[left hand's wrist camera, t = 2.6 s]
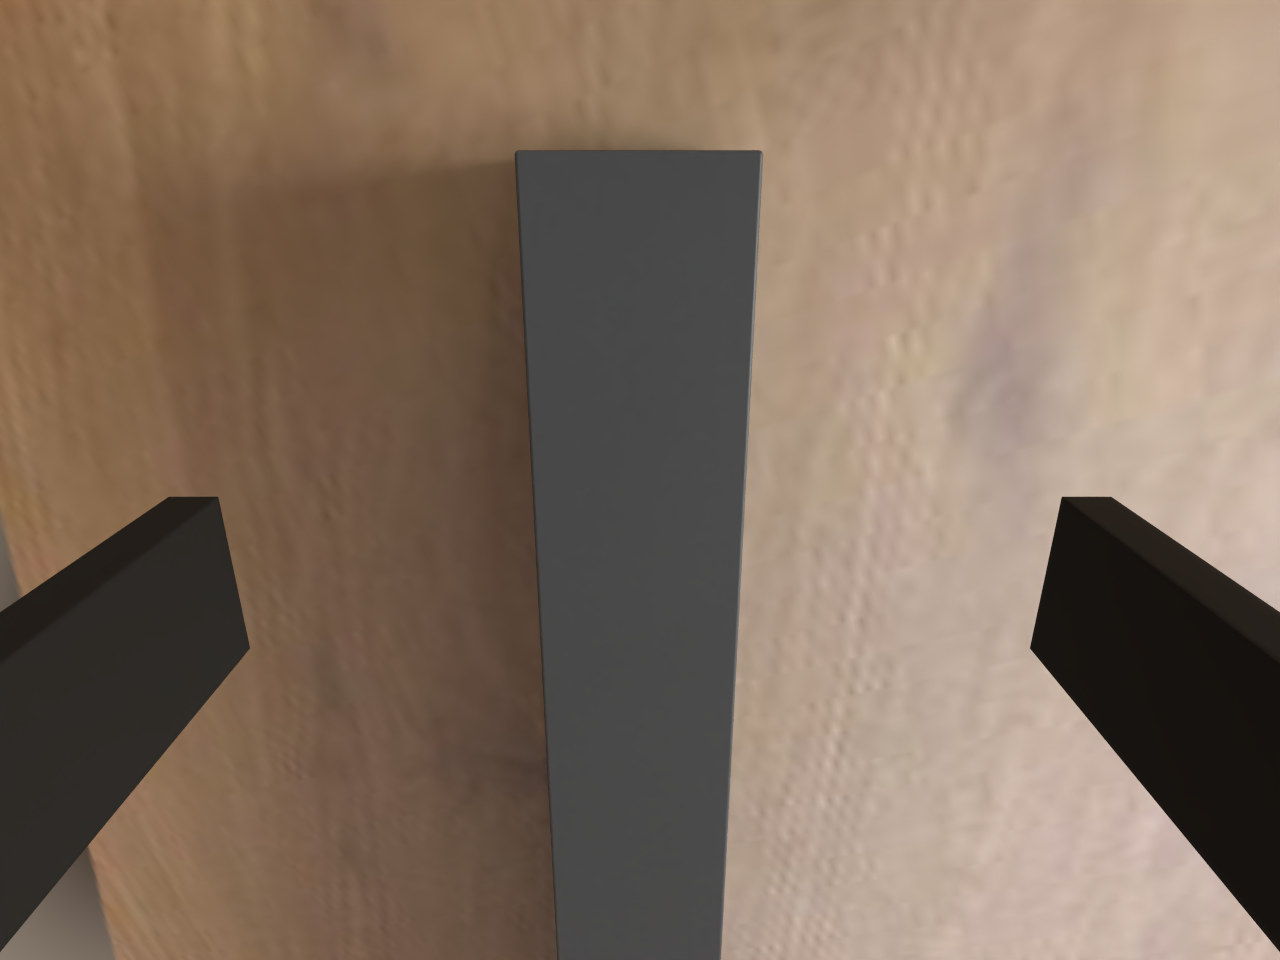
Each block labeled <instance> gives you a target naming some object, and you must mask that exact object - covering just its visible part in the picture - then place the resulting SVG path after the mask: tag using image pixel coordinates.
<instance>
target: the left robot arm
mask: <svg viewBox="0 0 1280 960" xmlns="http://www.w3.org/2000/svg"><path fill="white" fill-rule="evenodd" d="M249 649H250V646H249V642H248V637H247V632H246V627H245V623H244V618H243V613H242V608H241V604H240V599H239V594H238V589H237V584H236V580H235V575H234V570H233V565H232V561H231V556H230V551H229V546H228V542H227V537H226V532H225V527H224V523H223V518H222V513H221V508H220V504H219V499H218V497H168V498H166V499H165V500H164V501H162V502H161V503H159V504H158V505H156V506H155V507H153V508H152V509H150V510H149V511H147V512H146V513H145V514H143V515H142V516H140V517H139V518H137V519H136V520H134V521H133V522H131V523H130V524H129V525H127V526H126V527H124V528H123V529H121V530H120V531H118V532H117V533H115V534H114V535H112V536H111V537H110V538H108V539H107V540H105V541H104V542H102V543H101V544H99V545H98V546H96V547H95V548H93V549H92V550H91V551H89V552H88V553H86V554H85V555H83V556H82V557H80V558H79V559H77V560H76V561H74V562H73V563H72V564H70V565H69V566H67V567H66V568H64V569H63V570H61V571H60V572H58V573H57V574H55V575H54V576H53V577H51V578H50V579H48V580H47V581H45V582H44V583H42V584H41V585H39V586H38V587H36V588H35V589H34V590H32V591H31V592H29V593H28V594H26V595H25V596H23V597H22V598H20V599H19V600H18V601H16V602H15V603H13V604H12V605H10V606H9V607H7V608H6V609H4V610H3V611H1V612H0V951H1V950H2V949H3V948H4V947H5V945H6V944H7V943H8V942H9V940H10V939H11V938H12V937H13V936H14V934H15V933H16V932H17V931H18V930H19V928H20V927H21V926H22V925H23V924H24V922H25V921H26V920H27V919H28V917H29V916H30V915H31V914H32V913H33V911H34V910H35V909H36V908H37V906H38V905H39V904H40V903H41V902H42V900H43V899H44V898H45V897H46V896H47V894H48V893H49V892H50V891H51V889H52V888H53V887H54V886H55V885H56V883H57V882H58V881H59V880H60V879H61V877H62V876H63V875H64V874H65V872H66V871H67V870H68V869H69V868H70V866H71V865H72V864H73V863H74V862H75V860H76V859H77V858H78V857H79V855H80V854H81V853H82V852H83V851H84V849H85V848H86V847H87V846H88V845H89V843H90V842H91V841H92V840H93V838H94V837H95V836H96V835H97V834H98V832H99V831H100V830H101V829H102V828H103V826H104V825H105V824H106V823H107V821H108V820H109V819H110V818H111V817H112V815H113V814H114V813H115V812H116V811H117V809H118V808H119V807H120V806H121V804H122V803H123V802H124V801H125V800H126V798H127V797H128V796H129V795H130V793H131V792H132V791H133V790H134V789H135V787H136V786H137V785H138V784H139V783H140V781H141V780H142V779H143V778H144V776H145V775H146V774H147V773H148V772H149V770H150V769H151V768H152V767H153V766H154V764H155V763H156V762H157V761H158V759H159V758H160V757H161V756H162V755H163V753H164V752H165V751H166V750H167V749H168V747H169V746H170V745H171V744H172V742H173V741H174V740H175V739H176V738H177V736H178V735H179V734H180V733H181V732H182V730H183V729H184V728H185V727H186V725H187V724H188V723H189V722H190V721H191V719H192V718H193V717H194V716H195V714H196V713H197V712H198V711H199V710H200V708H201V707H202V706H203V705H204V704H205V702H206V701H207V700H208V699H209V697H210V696H211V695H212V694H213V693H214V691H215V690H216V689H217V688H218V687H219V685H220V684H221V683H222V682H223V680H224V679H225V678H226V677H227V676H228V674H229V673H230V672H231V671H232V670H233V668H234V667H235V666H236V665H237V663H238V662H239V661H240V660H241V659H242V657H243V656H244V655H245V654H246V653H247V651H248V650H249ZM1030 649H1031V650H1032V651H1033V653H1034V654H1035V655H1036V656H1037V657H1038V659H1039V660H1040V661H1041V662H1042V663H1043V665H1044V666H1045V667H1046V668H1047V670H1048V671H1049V672H1050V673H1051V674H1052V676H1053V677H1054V678H1055V679H1056V680H1057V682H1058V683H1059V684H1060V685H1061V687H1062V688H1063V689H1064V690H1065V691H1066V693H1067V694H1068V695H1069V696H1070V697H1071V699H1072V700H1073V701H1074V702H1075V704H1076V705H1077V706H1078V707H1079V708H1080V710H1081V711H1082V712H1083V713H1084V714H1085V716H1086V717H1087V718H1088V719H1089V721H1090V722H1091V723H1092V724H1093V725H1094V727H1095V728H1096V729H1097V730H1098V732H1099V733H1100V734H1101V735H1102V736H1103V738H1104V739H1105V740H1106V741H1107V742H1108V744H1109V745H1110V746H1111V747H1112V749H1113V750H1114V751H1115V752H1116V753H1117V755H1118V756H1119V757H1120V758H1121V759H1122V761H1123V762H1124V763H1125V764H1126V766H1127V767H1128V768H1129V769H1130V770H1131V772H1132V773H1133V774H1134V775H1135V776H1136V778H1137V779H1138V780H1139V781H1140V783H1141V784H1142V785H1143V786H1144V787H1145V789H1146V790H1147V791H1148V792H1149V793H1150V795H1151V796H1152V797H1153V798H1154V800H1155V801H1156V802H1157V803H1158V804H1159V806H1160V807H1161V808H1162V809H1163V811H1164V812H1165V813H1166V814H1167V815H1168V817H1169V818H1170V819H1171V820H1172V821H1173V823H1174V824H1175V825H1176V826H1177V828H1178V829H1179V830H1180V831H1181V832H1182V834H1183V835H1184V836H1185V837H1186V838H1187V840H1188V841H1189V842H1190V843H1191V845H1192V846H1193V847H1194V848H1195V849H1196V851H1197V852H1198V853H1199V854H1200V855H1201V857H1202V858H1203V859H1204V860H1205V862H1206V863H1207V864H1208V865H1209V866H1210V868H1211V869H1212V870H1213V871H1214V872H1215V874H1216V875H1217V876H1218V877H1219V879H1220V880H1221V881H1222V882H1223V883H1224V885H1225V886H1226V887H1227V888H1228V889H1229V891H1230V892H1231V893H1232V894H1233V896H1234V897H1235V898H1236V899H1237V900H1238V902H1239V903H1240V904H1241V905H1242V907H1243V908H1244V909H1245V910H1246V911H1247V913H1248V914H1249V915H1250V916H1251V917H1252V919H1253V920H1254V921H1255V922H1256V924H1257V925H1258V926H1259V927H1260V928H1261V930H1262V931H1263V932H1264V933H1265V934H1266V936H1267V937H1268V938H1269V939H1270V941H1271V942H1272V943H1273V944H1274V945H1275V947H1276V948H1277V949H1278V950H1279V951H1280V612H1279V611H1277V610H1276V609H1274V608H1273V607H1271V606H1270V605H1268V604H1267V603H1265V602H1264V601H1262V600H1261V599H1260V598H1258V597H1257V596H1255V595H1254V594H1252V593H1251V592H1249V591H1248V590H1246V589H1245V588H1244V587H1242V586H1241V585H1239V584H1238V583H1236V582H1235V581H1233V580H1232V579H1230V578H1229V577H1227V576H1226V575H1225V574H1223V573H1222V572H1220V571H1219V570H1217V569H1216V568H1214V567H1213V566H1211V565H1210V564H1208V563H1207V562H1206V561H1204V560H1203V559H1201V558H1200V557H1198V556H1197V555H1195V554H1194V553H1192V552H1191V551H1189V550H1188V549H1187V548H1185V547H1184V546H1182V545H1181V544H1179V543H1178V542H1176V541H1175V540H1173V539H1172V538H1170V537H1169V536H1168V535H1166V534H1165V533H1163V532H1162V531H1160V530H1159V529H1157V528H1156V527H1154V526H1153V525H1151V524H1150V523H1149V522H1147V521H1146V520H1144V519H1143V518H1141V517H1140V516H1138V515H1137V514H1135V513H1134V512H1133V511H1131V510H1130V509H1128V508H1127V507H1125V506H1124V505H1122V504H1121V503H1119V502H1118V501H1116V500H1115V499H1114V498H1112V497H1062V499H1061V504H1060V508H1059V513H1058V518H1057V523H1056V527H1055V532H1054V537H1053V542H1052V546H1051V551H1050V556H1049V561H1048V565H1047V570H1046V575H1045V580H1044V584H1043V589H1042V594H1041V599H1040V603H1039V608H1038V613H1037V618H1036V623H1035V627H1034V632H1033V637H1032V642H1031V646H1030Z"/></svg>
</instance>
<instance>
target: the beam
mask: <svg viewBox="0 0 1280 960" xmlns="http://www.w3.org/2000/svg"><path fill="white" fill-rule="evenodd" d="M762 163H763V153H762V151H759V150H518V151H516V152H515V170H516V189H517V207H518V226H519V245H520V264H521V283H522V301H523V320H524V339H525V358H526V376H527V395H528V414H529V433H530V452H531V470H532V489H533V508H534V527H535V545H536V564H537V583H538V602H539V621H540V639H541V658H542V677H543V696H544V714H545V733H546V752H547V771H548V790H549V808H550V827H551V846H552V865H553V883H554V902H555V921H556V940H557V959H558V960H721V946H722V927H723V908H724V888H725V869H726V850H727V831H728V812H729V793H730V774H731V755H732V736H733V717H734V698H735V679H736V659H737V640H738V621H739V602H740V583H741V564H742V545H743V526H744V507H745V488H746V469H747V449H748V430H749V411H750V392H751V373H752V354H753V335H754V316H755V297H756V278H757V259H758V240H759V220H760V201H761V182H762Z"/></svg>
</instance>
